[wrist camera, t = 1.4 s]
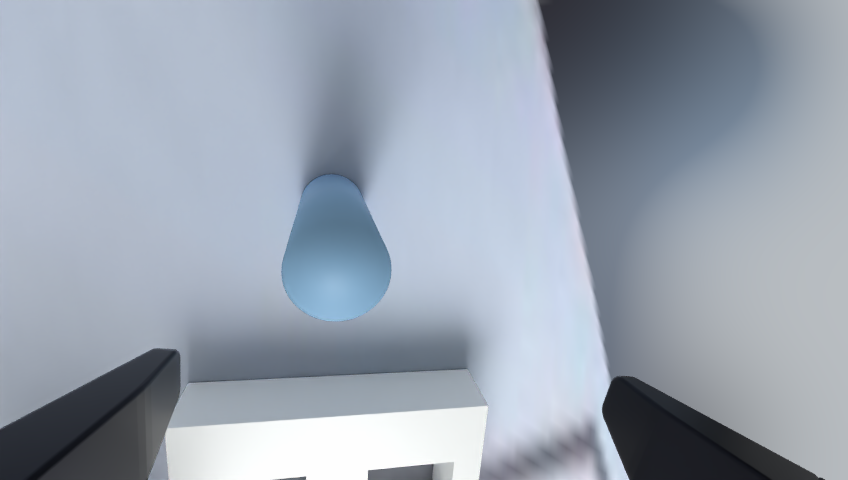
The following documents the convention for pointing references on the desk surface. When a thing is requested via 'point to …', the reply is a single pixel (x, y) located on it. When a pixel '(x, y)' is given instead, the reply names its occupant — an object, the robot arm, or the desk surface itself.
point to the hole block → (328, 427)
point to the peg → (335, 253)
